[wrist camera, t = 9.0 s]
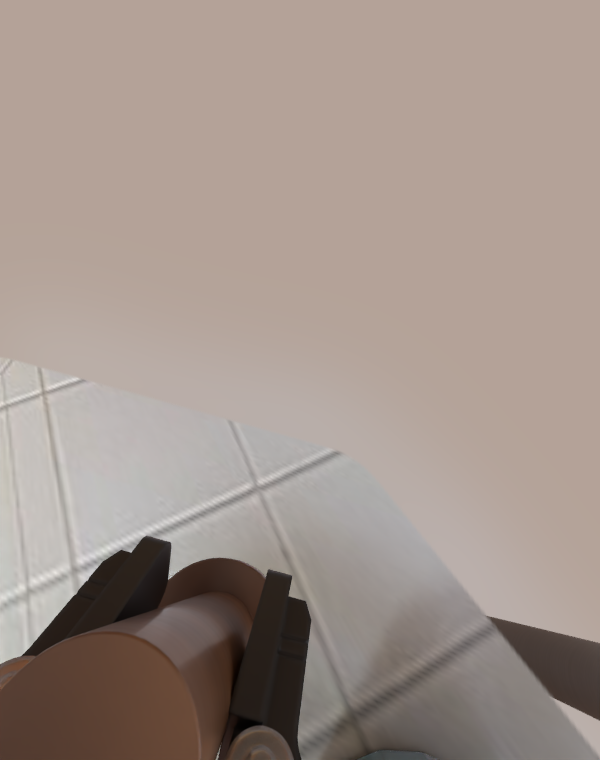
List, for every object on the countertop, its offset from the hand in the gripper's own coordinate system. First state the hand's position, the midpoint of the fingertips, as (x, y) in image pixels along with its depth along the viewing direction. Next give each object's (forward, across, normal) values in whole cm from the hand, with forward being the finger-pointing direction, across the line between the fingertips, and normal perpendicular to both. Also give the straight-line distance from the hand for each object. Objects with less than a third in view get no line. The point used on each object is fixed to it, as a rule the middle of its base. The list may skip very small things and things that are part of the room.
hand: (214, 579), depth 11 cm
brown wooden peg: (+2, 0, +5) cm, 5 cm away
